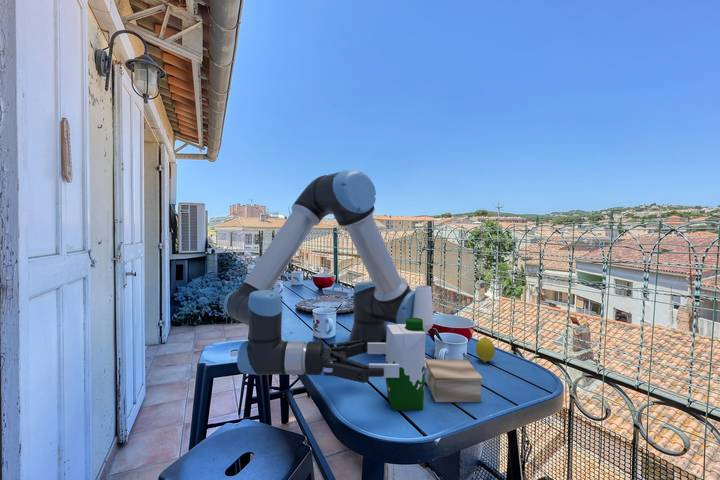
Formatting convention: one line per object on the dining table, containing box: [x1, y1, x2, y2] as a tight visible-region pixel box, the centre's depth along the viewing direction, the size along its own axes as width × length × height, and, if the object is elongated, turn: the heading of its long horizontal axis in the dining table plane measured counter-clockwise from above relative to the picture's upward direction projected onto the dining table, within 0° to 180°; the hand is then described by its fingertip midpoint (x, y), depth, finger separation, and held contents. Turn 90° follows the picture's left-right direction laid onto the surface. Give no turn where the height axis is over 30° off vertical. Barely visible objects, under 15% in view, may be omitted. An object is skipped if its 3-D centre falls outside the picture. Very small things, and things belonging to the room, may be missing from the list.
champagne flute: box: [413, 285, 435, 369], centre depth 103 cm, size 7×7×24 cm
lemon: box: [475, 336, 496, 363], centre depth 104 cm, size 6×6×8 cm
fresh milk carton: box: [385, 318, 427, 412], centre depth 79 cm, size 9×9×20 cm
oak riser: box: [425, 358, 484, 403], centre depth 85 cm, size 12×12×6 cm
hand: (395, 358), depth 78 cm, fingers open, 13 cm apart
